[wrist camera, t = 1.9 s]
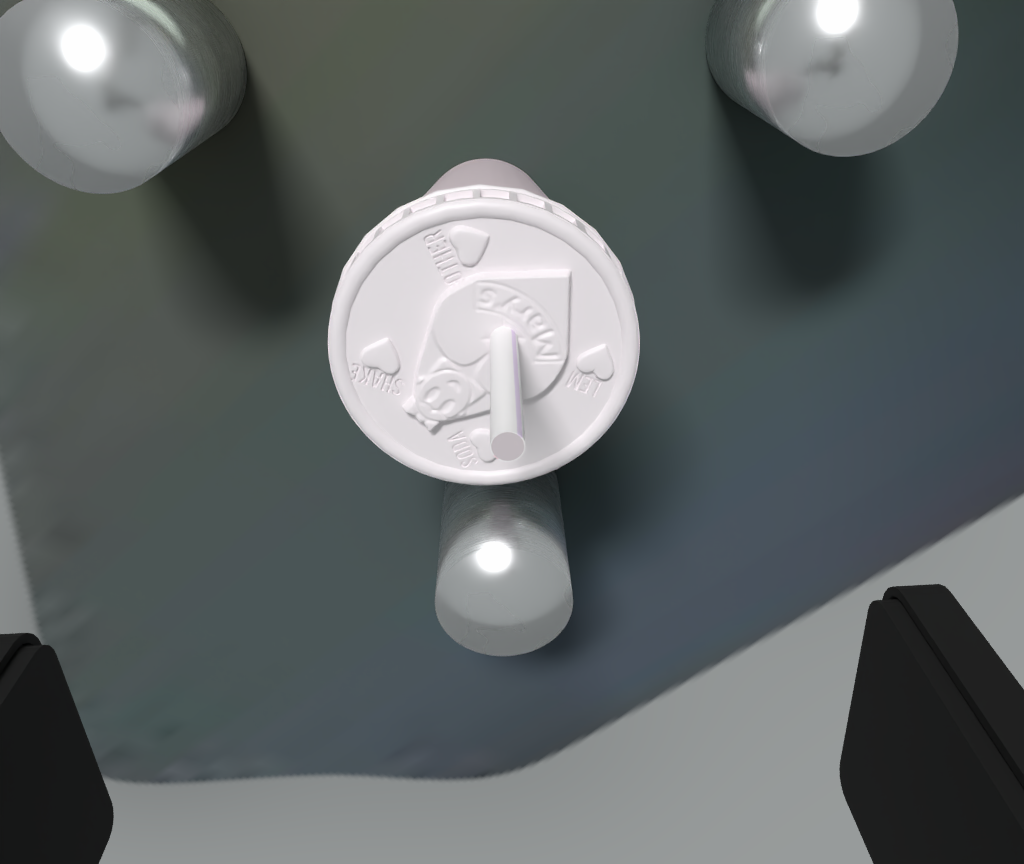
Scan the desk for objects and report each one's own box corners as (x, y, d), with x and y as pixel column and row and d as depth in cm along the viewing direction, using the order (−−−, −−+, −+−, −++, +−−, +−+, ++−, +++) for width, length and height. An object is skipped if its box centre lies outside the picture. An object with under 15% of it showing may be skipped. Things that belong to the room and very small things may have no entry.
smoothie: (637, 219, 26) (769, 462, 14) (489, 361, 28) (490, 680, 16) (480, 57, 24) (472, 177, 12) (332, 225, 26) (194, 475, 14)
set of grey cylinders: (76, -15, 23) (-47, -3, 18) (864, -55, 23) (976, -54, 18) (221, 552, 32) (167, 672, 26) (787, 523, 32) (846, 639, 26)
